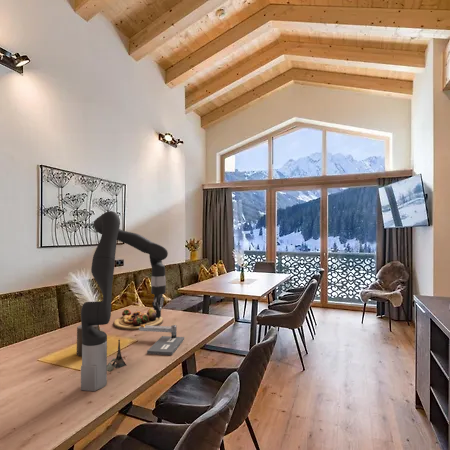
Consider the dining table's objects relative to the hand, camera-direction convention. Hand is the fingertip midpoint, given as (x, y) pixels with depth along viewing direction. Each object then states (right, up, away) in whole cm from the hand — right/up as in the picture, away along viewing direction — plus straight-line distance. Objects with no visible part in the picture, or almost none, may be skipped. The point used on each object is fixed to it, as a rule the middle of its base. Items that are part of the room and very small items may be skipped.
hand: (158, 317), depth 163 cm
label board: (+4, -16, +2) cm, 17 cm away
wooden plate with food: (-23, -18, +45) cm, 54 cm away
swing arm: (-3, -15, +13) cm, 20 cm away
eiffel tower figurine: (-14, -17, -21) cm, 30 cm away
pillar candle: (-35, -16, -6) cm, 39 cm away
